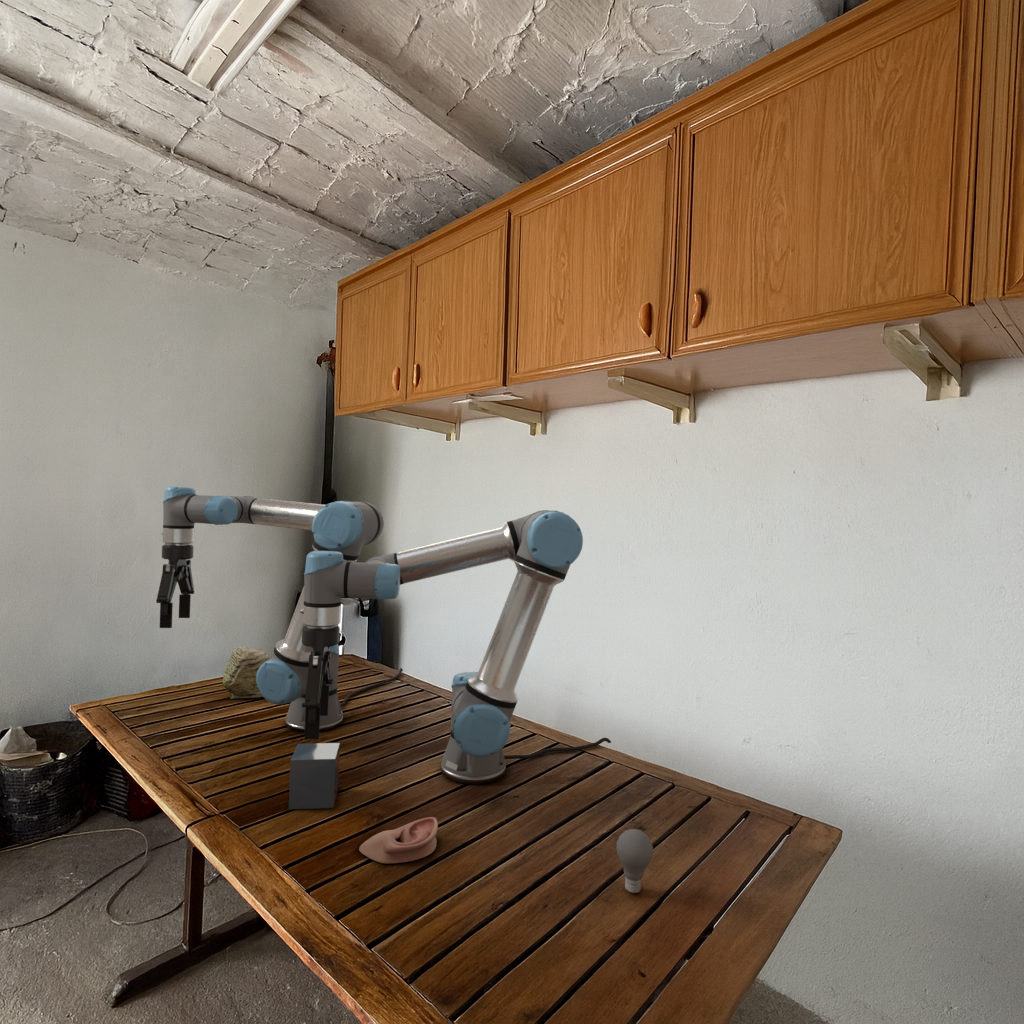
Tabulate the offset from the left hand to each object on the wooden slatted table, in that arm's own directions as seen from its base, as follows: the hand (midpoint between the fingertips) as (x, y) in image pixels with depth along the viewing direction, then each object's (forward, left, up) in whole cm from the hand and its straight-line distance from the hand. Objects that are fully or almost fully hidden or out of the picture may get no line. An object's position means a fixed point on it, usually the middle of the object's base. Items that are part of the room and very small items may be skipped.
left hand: (175, 622), depth 171 cm
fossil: (-28, -8, -27) cm, 40 cm away
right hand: (-2, +64, -12) cm, 65 cm away
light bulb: (-19, +129, -27) cm, 133 cm away
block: (-2, +64, -27) cm, 69 cm away
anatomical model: (-1, +91, -27) cm, 95 cm away
